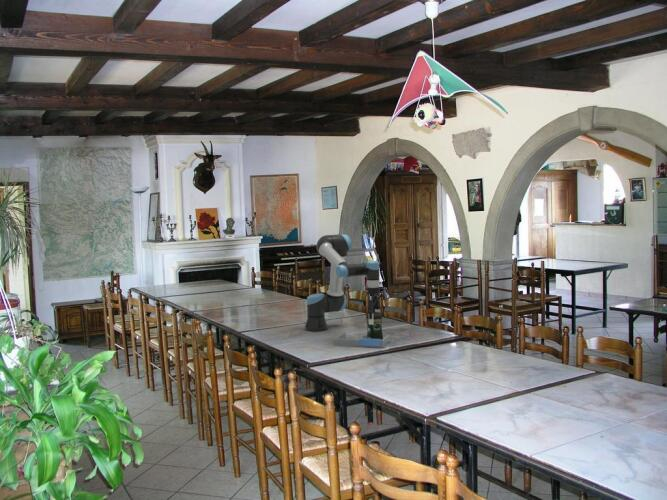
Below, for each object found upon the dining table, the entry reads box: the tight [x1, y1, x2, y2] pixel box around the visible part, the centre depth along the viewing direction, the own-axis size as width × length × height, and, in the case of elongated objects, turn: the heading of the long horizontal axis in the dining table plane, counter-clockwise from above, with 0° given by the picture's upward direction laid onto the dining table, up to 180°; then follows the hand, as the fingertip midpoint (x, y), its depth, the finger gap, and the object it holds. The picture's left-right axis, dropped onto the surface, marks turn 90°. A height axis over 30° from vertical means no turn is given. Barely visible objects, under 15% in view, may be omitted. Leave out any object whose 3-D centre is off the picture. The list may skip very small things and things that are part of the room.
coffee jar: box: [365, 311, 384, 340], centre depth 389 cm, size 10×8×19 cm
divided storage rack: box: [333, 332, 391, 349], centre depth 389 cm, size 18×30×5 cm, turn 71°
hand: (374, 322), depth 388 cm, fingers open, 13 cm apart
